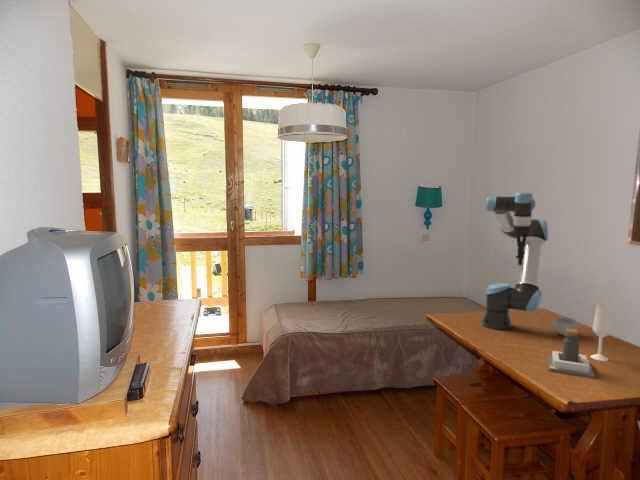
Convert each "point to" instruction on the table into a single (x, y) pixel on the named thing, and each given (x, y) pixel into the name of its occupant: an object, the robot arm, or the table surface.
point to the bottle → (570, 346)
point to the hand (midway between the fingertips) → (519, 269)
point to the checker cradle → (570, 365)
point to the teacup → (564, 324)
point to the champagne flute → (601, 327)
